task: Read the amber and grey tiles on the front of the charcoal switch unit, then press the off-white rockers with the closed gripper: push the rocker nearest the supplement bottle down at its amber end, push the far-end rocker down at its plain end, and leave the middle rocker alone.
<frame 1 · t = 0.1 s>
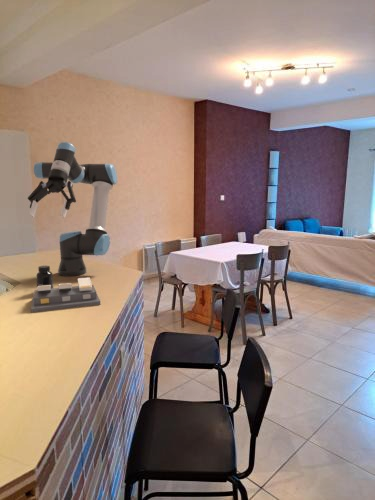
hand: (47, 215, 142), 36 cm above the kitchen counter, tool tilted 35°, fingers open, 13 cm apart
rocker a: (44, 287, 143), point 7 cm above the kitchen counter, hinge at -12.0°
switch unit: (66, 302, 146), on the kitchen counter
rocker b: (64, 285, 146), point 7 cm above the kitchen counter, hinge at -12.0°
rocker c: (84, 284, 149), point 7 cm above the kitchen counter, hinge at 12.0°
supplement bottle: (45, 292, 160), on the kitchen counter
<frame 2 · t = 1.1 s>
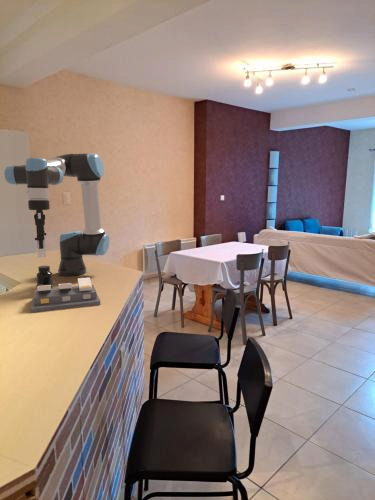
hand: (42, 254, 138), 21 cm above the kitchen counter, tool pointing down, fingers open, 12 cm apart
nothing on the kitchen counter moved.
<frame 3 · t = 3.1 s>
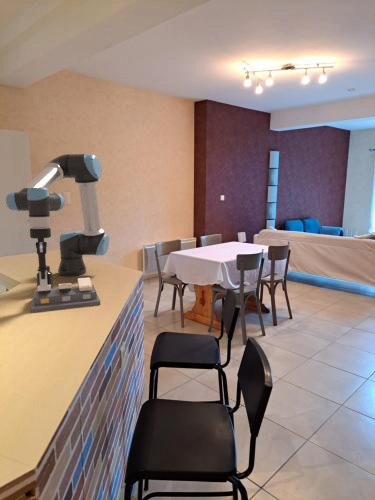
hand: (43, 286, 140), 8 cm above the kitchen counter, tool pointing down, fingers closed
rocker a: (44, 287, 143), point 7 cm above the kitchen counter, hinge at -10.9°, touching gripper
everything else where it was.
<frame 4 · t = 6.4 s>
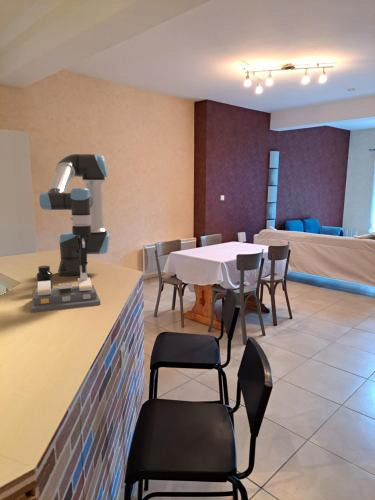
hand: (83, 279, 151), 8 cm above the kitchen counter, tool pointing down, fingers closed, pressing on rocker c
rocker a: (44, 287, 143), point 7 cm above the kitchen counter, hinge at 12.9°
rocker c: (84, 284, 149), point 7 cm above the kitchen counter, hinge at 11.3°, touching gripper
everything else where it was.
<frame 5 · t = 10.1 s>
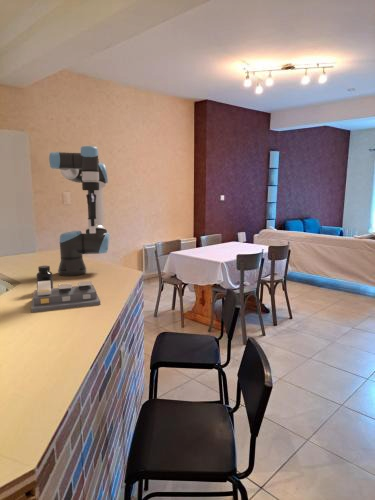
hand: (92, 233, 163), 26 cm above the kitchen counter, tool pointing down, fingers closed
rocker c: (84, 283, 149), point 7 cm above the kitchen counter, hinge at -18.8°, touching switch unit
everything else where it was.
at the end: rocker a at +13° (first picture: -12°); rocker c at -19° (first picture: +12°); rocker b at -12° (first picture: -12°) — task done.
